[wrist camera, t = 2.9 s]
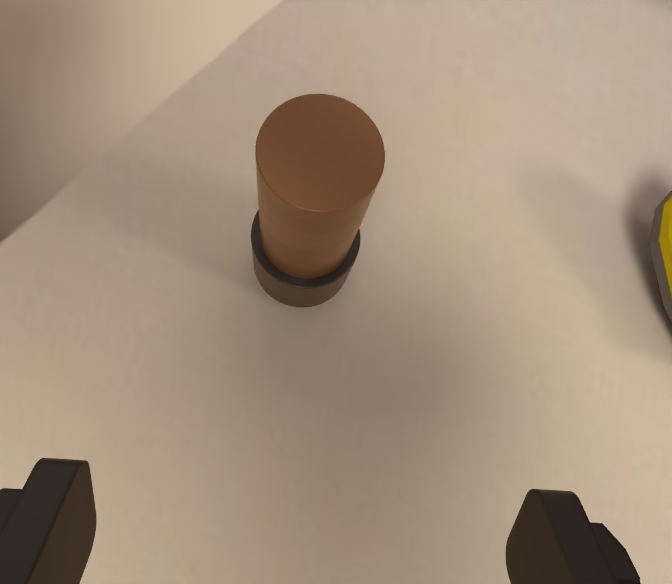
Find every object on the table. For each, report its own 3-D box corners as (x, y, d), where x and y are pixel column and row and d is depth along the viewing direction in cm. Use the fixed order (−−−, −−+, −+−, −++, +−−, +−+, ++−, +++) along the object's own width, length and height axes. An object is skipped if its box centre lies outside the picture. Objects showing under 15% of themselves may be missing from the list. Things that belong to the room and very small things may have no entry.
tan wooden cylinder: (296, 327, 29) (313, 256, 17) (233, 254, 29) (209, 139, 18) (368, 266, 30) (429, 162, 18) (306, 198, 31) (328, 54, 19)
